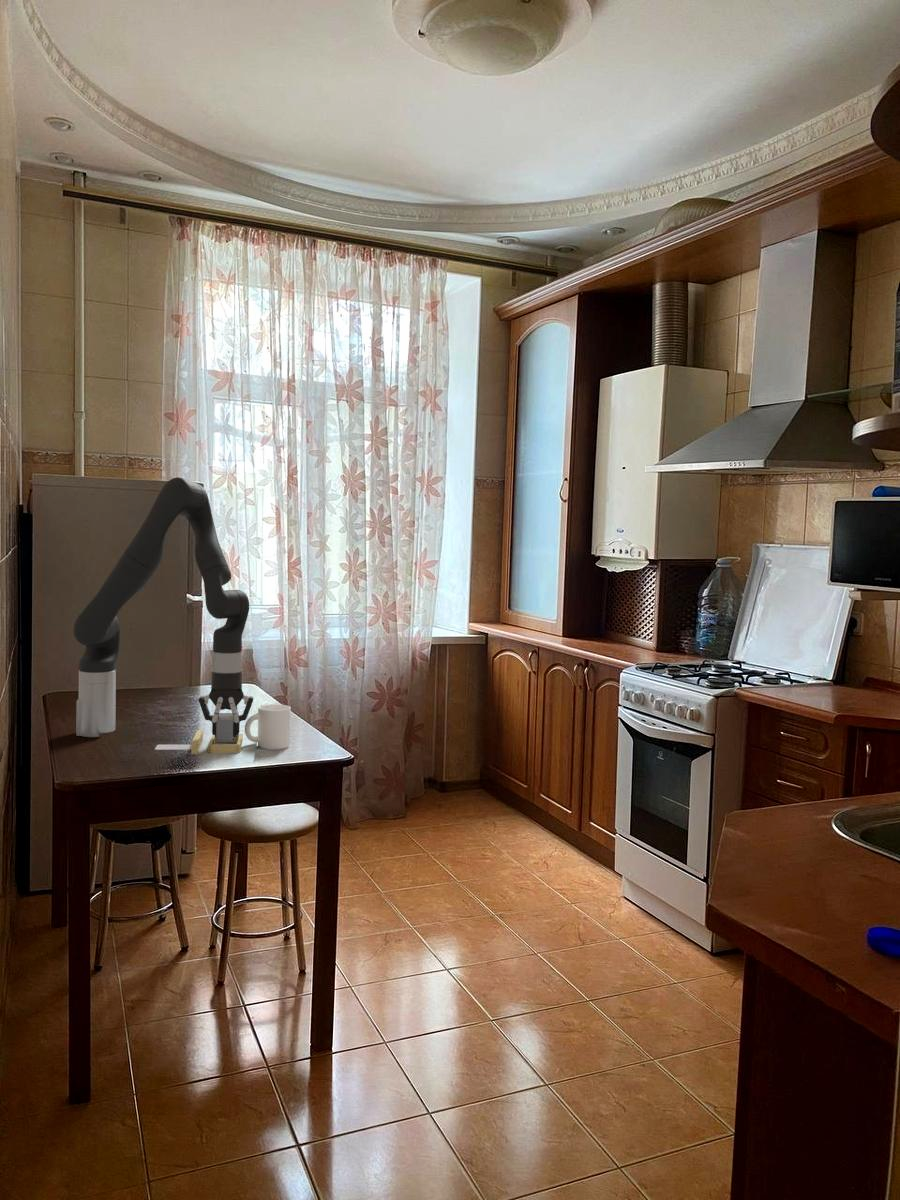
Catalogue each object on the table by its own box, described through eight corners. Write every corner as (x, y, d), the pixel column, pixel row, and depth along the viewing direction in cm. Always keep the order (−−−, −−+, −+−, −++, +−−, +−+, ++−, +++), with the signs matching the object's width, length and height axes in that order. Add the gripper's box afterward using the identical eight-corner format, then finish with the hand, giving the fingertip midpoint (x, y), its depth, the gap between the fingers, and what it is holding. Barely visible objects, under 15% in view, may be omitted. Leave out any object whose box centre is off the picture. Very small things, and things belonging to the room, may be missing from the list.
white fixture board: (151, 758, 226) (151, 743, 226) (160, 744, 240) (160, 730, 240) (244, 758, 230) (244, 743, 230) (247, 744, 244) (247, 730, 243)
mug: (249, 753, 235) (250, 712, 234) (239, 745, 242) (239, 706, 241) (294, 748, 241) (295, 709, 240) (283, 741, 248) (283, 703, 247)
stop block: (218, 736, 239) (219, 712, 239) (234, 736, 240) (235, 713, 239) (216, 743, 231) (216, 719, 231) (232, 743, 232) (233, 719, 232)
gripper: (256, 667, 239) (255, 733, 240) (199, 666, 237) (198, 733, 238) (255, 672, 232) (253, 740, 233) (196, 671, 229) (195, 740, 231)
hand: (225, 736), depth 236 cm, fingers closed on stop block, 4 cm apart
